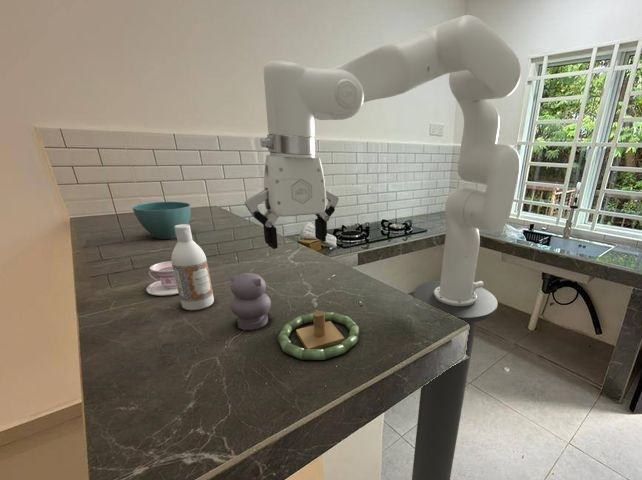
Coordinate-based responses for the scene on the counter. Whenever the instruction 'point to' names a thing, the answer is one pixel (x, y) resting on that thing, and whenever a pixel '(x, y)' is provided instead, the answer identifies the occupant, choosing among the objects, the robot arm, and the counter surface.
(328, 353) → the ring
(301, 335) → the stand
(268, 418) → the counter surface
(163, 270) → the teacup
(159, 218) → the teal bowl
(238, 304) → the cat figurine
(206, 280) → the bath foam
